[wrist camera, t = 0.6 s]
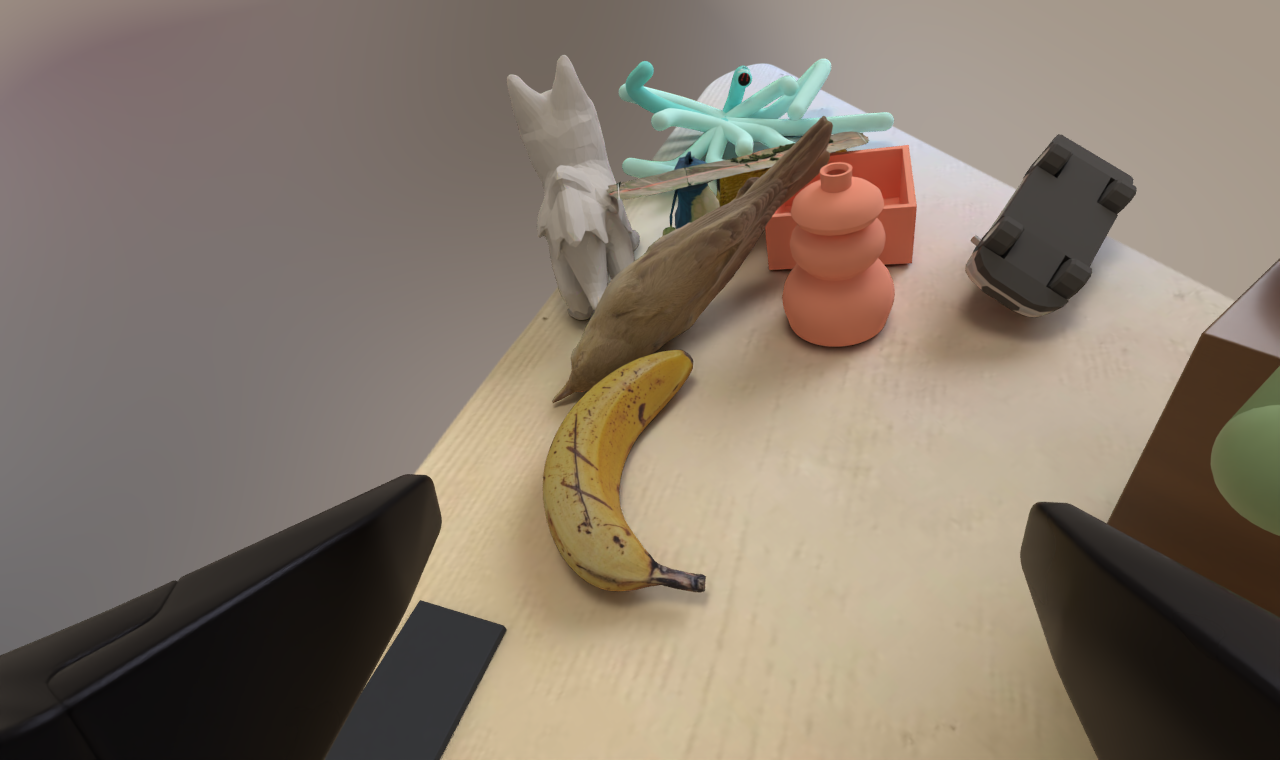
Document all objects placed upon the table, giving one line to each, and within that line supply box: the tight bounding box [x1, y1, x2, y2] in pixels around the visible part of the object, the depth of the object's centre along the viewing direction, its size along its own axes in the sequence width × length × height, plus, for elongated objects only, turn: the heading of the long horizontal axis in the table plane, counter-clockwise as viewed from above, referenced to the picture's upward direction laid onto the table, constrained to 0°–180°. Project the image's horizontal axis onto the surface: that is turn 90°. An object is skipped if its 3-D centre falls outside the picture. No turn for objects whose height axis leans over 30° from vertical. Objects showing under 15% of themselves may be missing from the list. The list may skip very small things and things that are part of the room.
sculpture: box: [552, 116, 833, 403], centre depth 39 cm, size 6×25×5 cm
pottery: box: [765, 145, 917, 347], centre depth 39 cm, size 18×10×10 cm, turn 165°
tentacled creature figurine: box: [619, 59, 894, 191], centre depth 58 cm, size 25×14×18 cm
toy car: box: [965, 135, 1136, 317], centre depth 36 cm, size 6×13×5 cm
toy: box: [507, 55, 640, 320], centre depth 44 cm, size 6×19×15 cm, turn 4°
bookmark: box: [606, 131, 869, 200], centre depth 43 cm, size 3×21×1 cm, turn 115°
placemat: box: [325, 600, 506, 760], centre depth 25 cm, size 10×5×1 cm, turn 159°
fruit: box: [543, 350, 706, 592], centre depth 32 cm, size 15×9×3 cm, turn 169°
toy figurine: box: [663, 151, 720, 236], centre depth 46 cm, size 12×4×8 cm, turn 165°
